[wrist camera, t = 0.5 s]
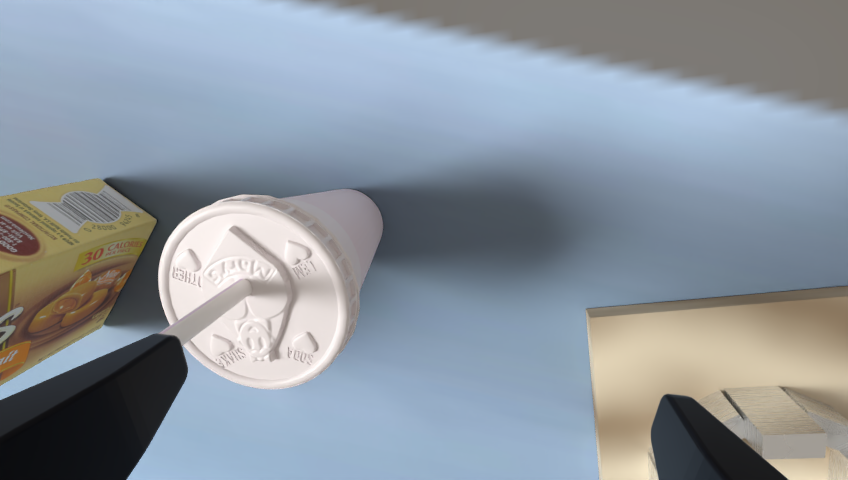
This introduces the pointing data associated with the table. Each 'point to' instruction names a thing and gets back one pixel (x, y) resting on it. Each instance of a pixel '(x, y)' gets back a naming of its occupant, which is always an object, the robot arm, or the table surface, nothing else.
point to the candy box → (62, 266)
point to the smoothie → (269, 283)
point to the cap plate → (712, 364)
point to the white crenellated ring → (780, 425)
